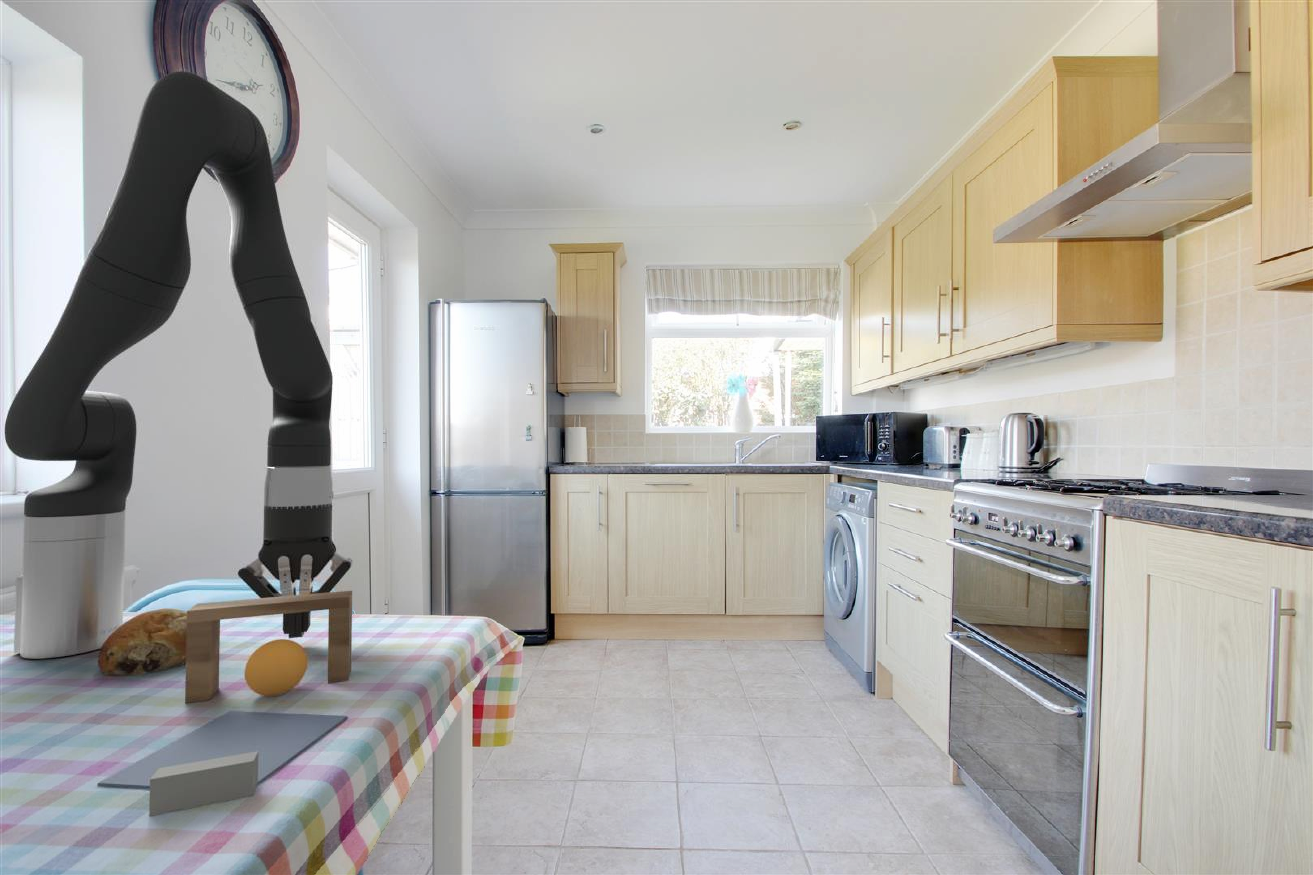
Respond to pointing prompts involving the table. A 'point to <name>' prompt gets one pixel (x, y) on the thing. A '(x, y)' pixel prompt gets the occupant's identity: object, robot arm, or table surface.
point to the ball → (276, 667)
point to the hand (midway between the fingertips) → (296, 635)
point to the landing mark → (234, 744)
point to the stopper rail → (203, 783)
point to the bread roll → (146, 644)
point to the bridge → (208, 615)
